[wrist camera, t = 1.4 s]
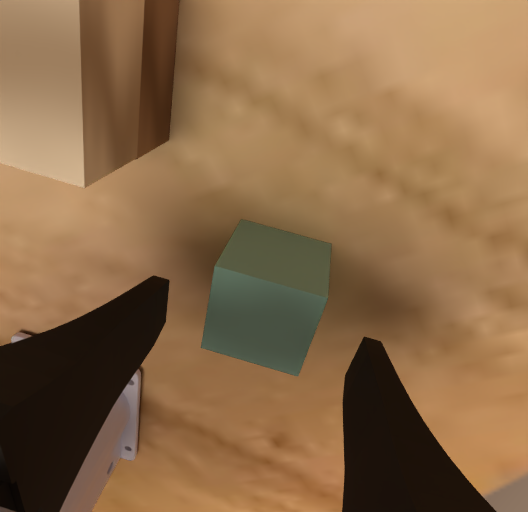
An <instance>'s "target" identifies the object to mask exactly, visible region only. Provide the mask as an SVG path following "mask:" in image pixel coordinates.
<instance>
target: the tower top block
mask: <svg viewBox="0 0 528 512" xmlns="http://www.w3.org/2000/svg"><path fill="white" fill-rule="evenodd" d="M144 3H145V0H0V163H1V164H5V165H8V166H11V167H15V168H18V169H21V170H25V171H28V172H32V173H35V174H38V175H42V176H45V177H49V178H52V179H55V180H59V181H62V182H66V183H69V184H72V185H76V186H79V187H82V188H86V187H87V186H89V185H91V184H93V183H94V182H96V181H98V180H100V179H101V178H103V177H105V176H106V175H108V174H110V173H112V172H113V171H115V170H117V169H119V168H120V167H122V166H124V165H126V164H127V163H129V162H131V161H132V160H134V159H136V158H137V148H138V127H139V106H140V86H141V65H142V44H143V23H144Z"/></svg>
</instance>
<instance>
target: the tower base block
mask: <svg viewBox="0 0 528 512" xmlns="http://www.w3.org/2000/svg"><path fill="white" fill-rule="evenodd" d="M178 11H179V0H145V3H144V23H143V44H142V65H141V86H140V106H139V127H138V148H137V158H136V159H138V158H139V157H141V156H143V155H144V154H146V153H148V152H150V151H151V150H153V149H155V148H156V147H158V146H160V145H161V144H163V143H165V142H167V141H168V140H169V133H170V119H171V106H172V92H173V79H174V65H175V52H176V38H177V25H178Z"/></svg>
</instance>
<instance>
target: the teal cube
mask: <svg viewBox="0 0 528 512" xmlns="http://www.w3.org/2000/svg"><path fill="white" fill-rule="evenodd" d="M330 260H331V244H330V243H326V242H322V241H319V240H315V239H312V238H308V237H304V236H301V235H297V234H294V233H290V232H286V231H283V230H279V229H276V228H272V227H268V226H265V225H261V224H258V223H254V222H250V221H247V220H243V219H241V220H240V222H239V224H238V226H237V228H236V229H235V231H234V233H233V235H232V236H231V238H230V240H229V242H228V243H227V245H226V247H225V249H224V250H223V252H222V254H221V256H220V257H219V259H218V261H217V263H216V265H215V267H214V273H213V279H212V285H211V291H210V297H209V302H208V308H207V314H206V320H205V326H204V332H203V338H202V344H201V348H203V349H207V350H210V351H213V352H217V353H220V354H224V355H227V356H230V357H234V358H237V359H241V360H244V361H247V362H251V363H254V364H257V365H261V366H264V367H268V368H271V369H274V370H278V371H281V372H284V373H288V374H291V375H295V376H298V375H299V373H300V370H301V368H302V365H303V362H304V360H305V357H306V355H307V352H308V349H309V347H310V344H311V342H312V339H313V336H314V334H315V331H316V329H317V326H318V323H319V321H320V318H321V316H322V313H323V310H324V308H325V305H326V303H327V300H328V293H329V277H330Z"/></svg>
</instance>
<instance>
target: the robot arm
mask: <svg viewBox="0 0 528 512" xmlns="http://www.w3.org/2000/svg"><path fill="white" fill-rule="evenodd" d="M168 291H169V280H167V279H164V278H161V277H157V276H152V277H150V278H148V279H147V280H145V281H143V282H142V283H140V284H138V285H137V286H135V287H133V288H132V289H130V290H129V291H127V292H125V293H124V294H122V295H120V296H118V297H117V298H115V299H113V300H111V301H110V302H108V303H106V304H104V305H103V306H101V307H99V308H97V309H95V310H93V311H91V312H89V313H87V314H85V315H83V316H81V317H79V318H77V319H75V320H73V321H70V322H68V323H66V324H63V325H61V326H58V327H56V328H54V329H51V330H48V331H46V332H43V333H40V334H37V335H34V336H31V335H28V334H25V333H21V332H18V333H16V334H15V335H13V336H12V337H11V341H12V343H10V344H6V345H3V346H0V512H91V511H92V509H93V507H94V506H95V504H96V502H97V500H98V498H99V496H100V494H101V492H102V491H103V489H104V487H105V485H106V483H107V481H108V479H109V477H110V476H111V474H112V472H113V470H114V468H115V466H116V464H117V462H118V461H119V459H120V458H123V459H126V460H130V461H131V460H134V459H135V457H136V455H137V444H138V425H139V406H140V386H141V372H140V370H139V369H138V368H139V367H140V365H141V364H142V362H143V361H144V359H145V358H146V356H147V355H148V353H149V352H150V350H151V349H152V347H153V346H154V344H155V342H156V340H157V338H158V336H159V334H160V332H161V330H162V328H163V326H164V324H165V322H166V313H167V302H168ZM343 432H344V462H345V474H344V493H343V508H342V512H496V511H495V510H494V509H493V507H491V505H490V504H489V503H488V502H487V501H486V500H485V499H484V498H483V497H482V496H481V495H480V493H479V492H478V491H477V490H476V489H475V488H474V487H473V485H472V484H471V483H470V482H469V481H468V480H467V478H466V477H465V476H464V475H463V474H462V472H461V471H460V470H459V469H458V467H457V466H456V465H455V464H454V462H453V461H452V460H451V459H450V457H449V456H448V455H447V453H446V452H445V451H444V450H443V448H442V447H441V445H440V444H439V443H438V441H437V440H436V438H435V437H434V436H433V434H432V433H431V431H430V430H429V428H428V427H427V425H426V424H425V422H424V421H423V419H422V417H421V416H420V414H419V413H418V411H417V409H416V408H415V406H414V404H413V403H412V401H411V399H410V397H409V395H408V394H407V392H406V390H405V388H404V386H403V384H402V383H401V381H400V379H399V377H398V375H397V373H396V371H395V369H394V367H393V365H392V363H391V361H390V359H389V357H388V355H387V353H386V350H385V348H384V346H383V344H382V343H381V341H377V340H374V339H370V338H367V337H364V338H363V340H362V342H361V344H360V346H359V348H358V350H357V352H356V354H355V356H354V358H353V360H352V362H351V364H350V366H349V369H348V371H347V373H346V375H345V383H344V393H343Z"/></svg>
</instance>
